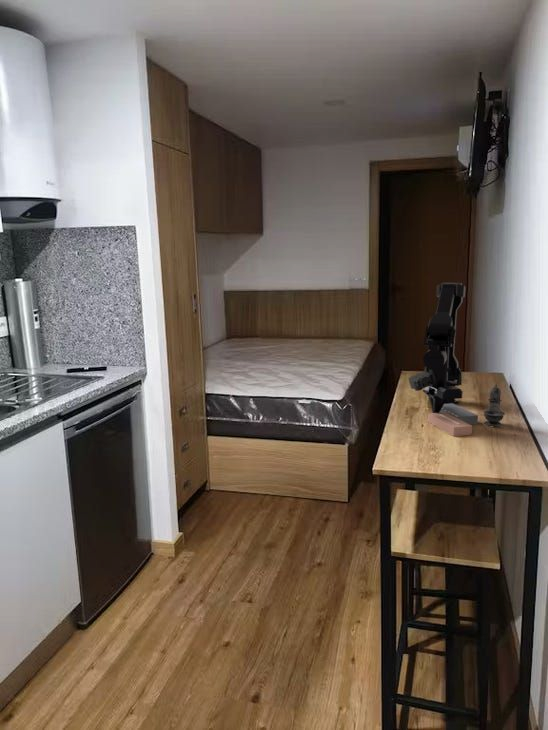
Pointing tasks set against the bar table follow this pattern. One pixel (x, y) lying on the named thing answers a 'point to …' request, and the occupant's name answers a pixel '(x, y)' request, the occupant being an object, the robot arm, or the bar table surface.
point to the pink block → (450, 424)
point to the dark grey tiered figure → (494, 409)
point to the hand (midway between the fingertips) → (435, 415)
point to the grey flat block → (460, 413)
